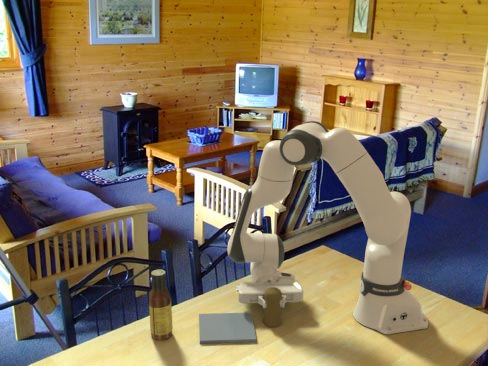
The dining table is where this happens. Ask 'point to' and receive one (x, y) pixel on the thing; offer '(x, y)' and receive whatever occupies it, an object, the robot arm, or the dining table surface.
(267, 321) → the cork
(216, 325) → the tile
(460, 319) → the dining table surface
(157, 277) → the sauce bottle
